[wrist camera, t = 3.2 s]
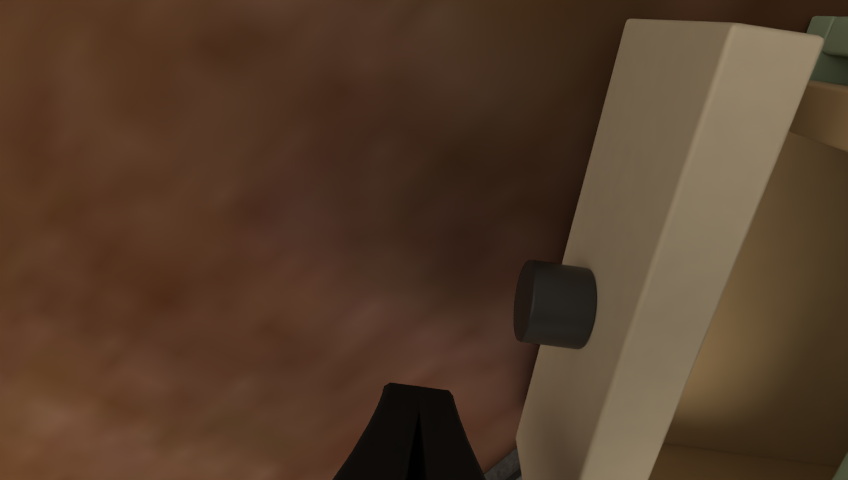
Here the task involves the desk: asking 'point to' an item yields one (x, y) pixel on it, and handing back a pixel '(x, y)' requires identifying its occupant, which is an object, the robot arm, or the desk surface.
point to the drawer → (698, 270)
